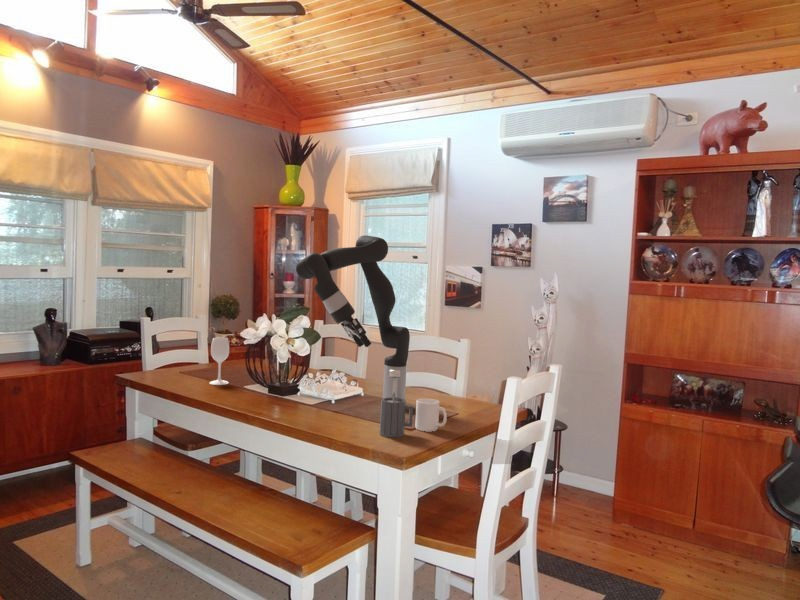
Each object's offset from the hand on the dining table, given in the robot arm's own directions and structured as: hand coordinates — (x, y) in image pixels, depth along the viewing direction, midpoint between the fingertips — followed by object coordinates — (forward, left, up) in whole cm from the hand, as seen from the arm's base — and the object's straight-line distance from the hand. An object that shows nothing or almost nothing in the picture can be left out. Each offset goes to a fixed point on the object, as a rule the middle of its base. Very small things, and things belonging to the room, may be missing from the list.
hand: (365, 345), depth 200 cm
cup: (-5, +26, -31) cm, 40 cm away
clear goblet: (+1, +11, -20) cm, 22 cm away
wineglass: (-79, -59, -31) cm, 104 cm away
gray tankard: (+1, +12, -30) cm, 33 cm away
